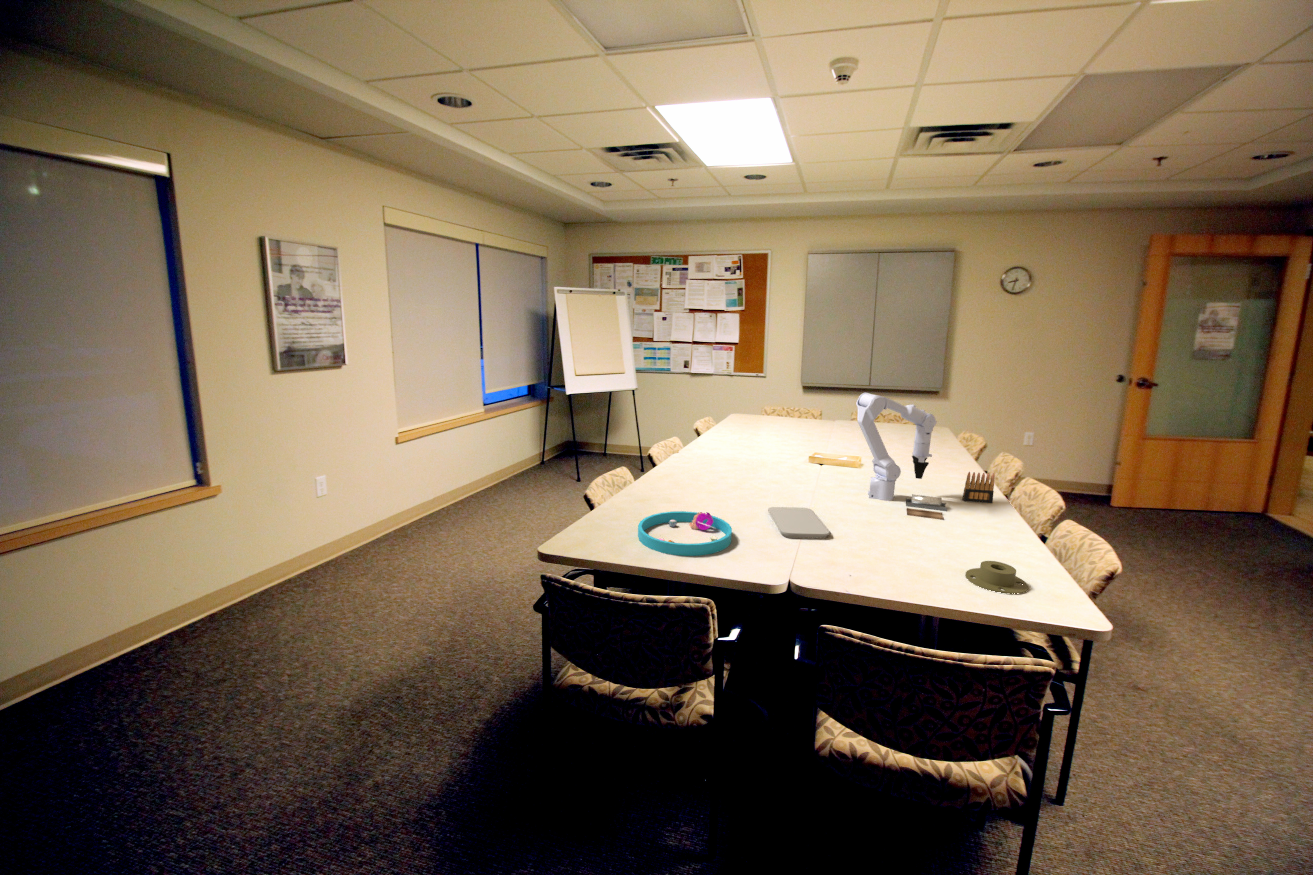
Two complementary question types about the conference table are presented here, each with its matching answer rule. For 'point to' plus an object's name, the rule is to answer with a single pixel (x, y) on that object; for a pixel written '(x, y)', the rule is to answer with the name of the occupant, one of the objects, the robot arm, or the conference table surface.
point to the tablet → (798, 522)
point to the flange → (996, 577)
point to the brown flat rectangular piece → (925, 514)
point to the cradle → (942, 508)
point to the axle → (926, 500)
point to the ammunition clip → (979, 489)
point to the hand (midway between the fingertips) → (918, 476)
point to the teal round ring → (698, 521)
